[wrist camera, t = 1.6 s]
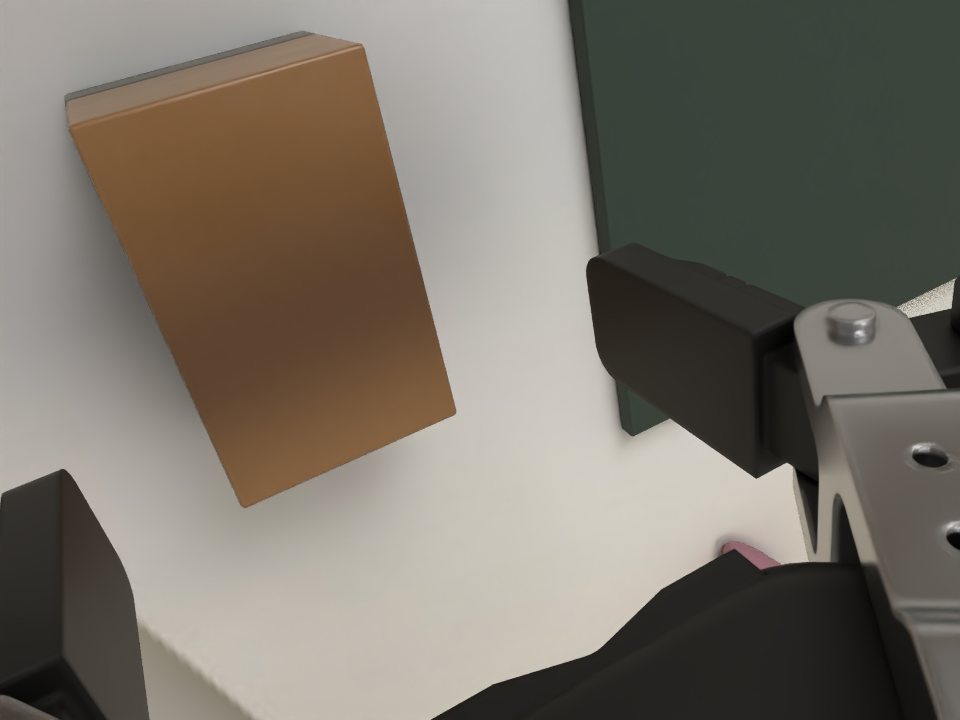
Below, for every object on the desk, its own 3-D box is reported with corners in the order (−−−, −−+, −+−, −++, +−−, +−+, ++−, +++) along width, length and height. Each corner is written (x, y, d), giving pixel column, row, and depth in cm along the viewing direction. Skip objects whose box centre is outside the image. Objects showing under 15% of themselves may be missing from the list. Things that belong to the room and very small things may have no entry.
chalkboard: (550, -138, 18) (564, -141, 17) (1205, -286, 25) (1228, -291, 24) (621, 429, 26) (632, 437, 26) (1099, 197, 33) (1115, 200, 33)
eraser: (63, 94, 16) (66, 126, 12) (304, 29, 17) (364, 42, 14) (210, 422, 20) (243, 511, 16) (395, 347, 21) (458, 414, 18)
